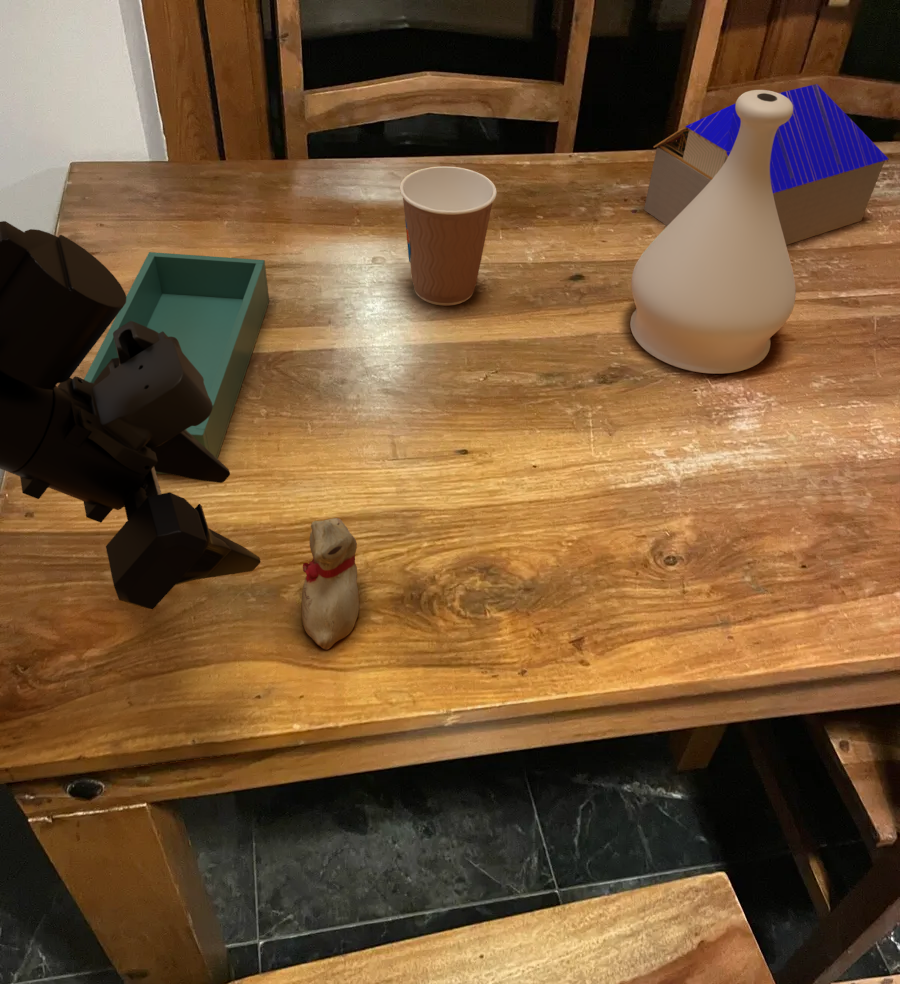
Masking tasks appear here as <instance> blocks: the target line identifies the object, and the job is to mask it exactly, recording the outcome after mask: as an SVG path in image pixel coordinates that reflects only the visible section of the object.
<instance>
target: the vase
mask: <svg viewBox="0 0 900 984" xmlns="http://www.w3.org/2000/svg"><path fill="white" fill-rule="evenodd" d="M779 93H780V92H776V91H772V90H768V89H767V90H766V89H751V90H748V91H745V92H743V93H742V94H741V95H739V96H738V98H737V99H736V101H735V103H736V105H735V110H736V113H737V115H738V116H739V118H740V120H741V125H740V129H739V132H738V135H737V138H736V141H735V143H734V146H733V148H732V150H731V152H730V154H729V156H728V158H727V160H726V161H725V163H724V164H723V166H722V167H721V169H720V170H719V171H718V173H717V174H716V175H715V176H714V178H713V179H712V180H711V181H710V182H709V183H708V184H707V185H706V187H705V188H704V189H703V190H702V191H701V192H700V193H699V194H698V195H697V196H696V197H695V198H694V199H693V200H692V201H691V202H690V203H689V204H688V205H687V207H686V208H685V209H684V210H683V211H682V212H681V213H680V214H679V215H678V216H677V217H676V218H675V219H674V220H673V221H672V222H671V223H670V224H669V225H668V226H667V225H666V226H665V228H664V229H662V231H661V232H660V233H659V234H658V235H657V236H655V238H654V239H653V240H652V241H651V242H650V243H649V245H648V246H647V247H646V248H645V249H644V250H643V252H642V253H641V255H640V256H639V257H638V259H637V261H636V263H635V265H634V267H633V270H632V274H631V281H630V286H631V294H632V298H633V302H634V304H635V308H636V309H634V311H633V312H632V315H631V317H630V323H629V324H630V330H631V331H630V332H631V333H632V336H633V337H634V339H635V341H636V342H637V343H638V345H639V346H640V347H641V348H642V349H643V350H645V352H647V353H649V354H650V355H651V356H652V357H655V358H656V359H658V360H660V361H662V362H664V363H666V364H668V365H671V366H673V367H676V368H678V369H683V370H685V371H689V372H694V373H695V372H696V373H703V374H712V375H713V374H714V375H715V374H719V375H720V374H732V373H738V372H741V371H744V370H748V369H750V368H753V367H755V366H756V365H758V364H759V363H761V362H763V360H764V359H765V358H766V357H767V355H768V353H769V352H770V349H771V338H772V336H774V335H775V334H776V333H777V332H778V331H779V330H781V329H782V327H783V326H784V325H785V324H786V323H787V322H788V320H789V318H790V316H791V315H792V312H793V310H794V307H795V305H796V304H795V303H796V297H797V296H796V295H797V289H796V280H795V275H794V270H793V265H792V262H791V258H790V254H789V251H788V246H787V245H786V243H785V239H784V236H783V232H782V228H781V225H780V221H779V217H778V213H777V209H776V205H775V201H774V197H773V192H772V186H771V179H770V158H771V151H772V146H773V141H774V137H775V134H776V131H777V129H778V127H779V126H781V125H782V124H784V123H786V122H787V121H788V120H789V119H790V118H791V116H792V113H793V105H792V103H791V101H790V100H789V99H788V98H787V97H785V96H783V95H781V94H779Z"/></svg>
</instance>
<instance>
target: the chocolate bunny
mask: <svg viewBox="0 0 900 984" xmlns="http://www.w3.org/2000/svg"><path fill="white" fill-rule="evenodd" d="M310 528H311V529H310V530H311V532H310V533H309V534H310V535H309V548H310V552H311V555H312V560H311V561H309V562H303V563H302V571H303V572H304V573H305V574H306V576H305V578H304V582H303V585H302V593H301V619H302V626H303V628H304V630H305V633H306V634H307V635H308V636H309V637H310V639H312V641H314V643H315V644H316V645H318V646H319V647H320V648H321V649H323V650H326V651H327V650H329V649H330V648H332V647H333V646H334V645H335V644H336V643H337V642H338V641H342V639H345V638H347V636H348V635H349V634H351V632H352V631H353V629H354V627H355V624H356V622H357V618H358V616H359V610H360V599H359V596H360V595H359V587H358V566H357V564H356V553H357V549H358V547H357V545H358V542H357V540H356V538H355V536H354V535H353V534H352V533H351V532H350V530H349V528H348V527H347V526H346V524H345V523H344V522H343V520H342V519H341V518H339V517H333V518H328V519H324V520H314V521H312V522H311V525H310Z"/></svg>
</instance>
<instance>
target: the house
mask: <svg viewBox="0 0 900 984" xmlns="http://www.w3.org/2000/svg"><path fill="white" fill-rule="evenodd" d="M778 93H779V94H781V95H783V96H785V97H787V98H788V99H789V100H790V101H791V103H792V105H793V113H792V116H791V118H790V119H789V120H788V121H787V122H786V123H784V124H782V125H781V126H779V127H778V129H777V131H776V134H775V137H774V141H773V146H772V151H771V158H770V179H771V186H772V192H773V197H774V201H775V205H776V209H777V213H778V217H779V221H780V225H781V228H782V232H783V236H784V239H785V243H786V246H787V245H791V244H794V243H798V242H800V241H804V240H806V239H809V238H812V237H815V236H819V235H822V234H824V233H828V232H831V231H833V230H834V231H835V230H837V229H840V228H844V227H846V226H850V225H852V224H856V223H859V222H862V220H863V218H864V215H865V212H866V210H867V208H868V205H869V203H870V200H871V197H872V195H873V192H874V189H875V187H876V185H877V183H878V179H879V178H880V176H881V175H880V174H881V172H882V170H883V167H884V164H885V161H886V162H887V163H888V162H889V160H890V159H889V157H888V156H887V155H886V154H885V153H884V152H883V151H882V150H881V149H880V148H879V147H878V146H877V145H876V144H875V143H874V142H873V140H872V139H870V137H869V136H868V135H867V134H865V132H864V131H863V130H862V129H861V128H860V127H859V125H857V123H855V122H854V121H853V120H852V118H851V117H850V116H848V114H847V113H846V112H845V111H844V110H843V109H842V108H841V107H840V106H839V105H838V104H837V103H836V102H835V101H834V100H833V99H832V97H830V96H829V94H827V93H826V91H824V90H823V88H821V86H820V85H819V84H818V83H815V84H810V85H806V86H802V87H798V88H794V89H793V88H792V89H790V90H785V91H781V92H778ZM735 105H736V102H735V103H733V104H731V105H728V106H726V107H725V108H722V109H720V110H717V111H715V112H714V113H712V114H709V115H707V116H705V117H702V118H700V119H697V120H696V121H694V122H691V123H689V124H687V125H685V126H683V127H682V128H679V130H677V131H675V132H674V133H672V134H671V135H669V136H668V137H666V138H665V139H663V140H661V141H659V142H658V143H656V144H655V145H653V149H655V148H656V149H655V154H654V160H653V164H652V169H651V174H650V178H649V183H648V187H647V193H646V197H645V203H644V207H643V211H645V212H646V213H648V214H649V215H651V216H652V217H653V218H654V219H656V220H658V221H659V222H661V223H662V224H664V225H665V226H666V227H667V226H668V225H669V224H670V223H671V222H672V221H673V220H674V219H675V218H676V217H677V216H678V215H679V214H680V213H681V212H682V211H683V210H684V209H685V208H686V207H687V205H688V204H689V203H690V202H691V201H692V200H693V199H694V198H695V197H696V196H697V195H698V194H699V193H700V192H701V191H702V190H703V189H704V188H705V187H706V185H707V184H708V183H709V182H710V181H711V180H712V179H713V178H714V176H715V175H716V174H717V173H718V171H719V170H720V169H721V167H722V166H723V164H724V163H725V161H726V160H727V158H728V156H729V154H730V152H731V150H732V148H733V146H734V143H735V141H736V138H737V135H738V132H739V129H740V125H741V120H740V118H739V116H738V115H737V113H736V110H735Z"/></svg>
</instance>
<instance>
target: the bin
mask: <svg viewBox="0 0 900 984" xmlns="http://www.w3.org/2000/svg"><path fill="white" fill-rule="evenodd" d="M268 285H269V284H268V276H267V269H266V260H265V259H257V258H255V259H254V258H239V257H226V256H211V255H199V254H197V255H196V254H185V253H184V254H182V253H168V252H153V251H149V252H148V254H147V255H146V257H145V259H144V261H143V262H142V265H141V267H140V269H139V270H138V273H137V275H136V277H135V279H134V281H133V282H132V284H131V286H130V288H129V290H128V292H127V294H126V304H125V305H124V306H123V308H122V309H121V310H120V312H119V313H118V314H117V316H116V317H115V318H114V320H113V321H112V322H111V324H110V325H111V326H110V328H109V329H108V331H107V333H106V335H105V337H104V339H103V341H102V343H101V345H100V347H99V349H98V351H97V353H96V355H95V356H94V358H93V361H92V363H91V364H90V366H89V369H88V370H87V372H86V374H85V376H84V377H83V379H84V380H86V381H88V382H90V383H93V382H94V381H95V380H96V379H97V377H98V376H99V375H100V373H101V372H102V371H103V370H104V368H105V367H106V366H107V364H108V363H109V362H110V360H111V359H113V358H119V357H118V353H117V349H116V345H115V340H114V336H113V332H114V331H115V330H117V329H119V328H120V327H122V326H123V325H125V324H126V323H128V322H130V321H133V322H136V323H138V324H140V325H143V326H145V327H147V328H150V329H152V330H154V331H156V332H158V333H160V332H162V331H163V332H164V333H165V334H166V335H167V336H168V337H175V338H176V339H177V340H178V342H179V345H180V347H181V350H182V353H183V354H184V355H185V356H186V357H187V358H188V360H189V361H190V362H191V363H192V364H193V366H194V367H195V368H196V369H197V370H198V371H199V373H200V374H201V375H202V377H203V379H204V385H205V388H206V391H207V394H208V396H209V398H210V400H211V402H212V405H213V408H212V412H211V414H210V416H209V417H208V418H207V419H206V420H205V421H204V422H202V423H201V424H199V425H197V426H190V427H189V428H187V429H186V430H187V431H188V432H189V433H190V434H191V435H192V436H193V437H194V438H195V439H196V440H197V441H199V442H200V443H201V444H202V445H203V446H204V447H205V448H206V449H207V450H208V451H209V452H210V453H212V454H213V455H214V456H215V457H216V458H217V459H219V456H220V452H221V449H222V446H223V443H224V440H225V437H226V434H227V431H228V428H229V425H230V422H231V418H232V416H233V413H234V410H235V406H236V404H237V400H238V397H239V394H240V391H241V388H242V385H243V382H244V379H245V377H246V374H247V370H248V367H249V364H250V362H251V361H250V360H251V357H252V355H253V352H254V348H255V346H256V343H257V339H258V337H259V334H260V331H261V328H262V324H263V321H264V318H265V315H266V312H267V309H268V306H269V303H270V294H269V286H268ZM155 472H156V471H155ZM157 474H160V475H167V474H166V473H161V472H156V475H157Z"/></svg>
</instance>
